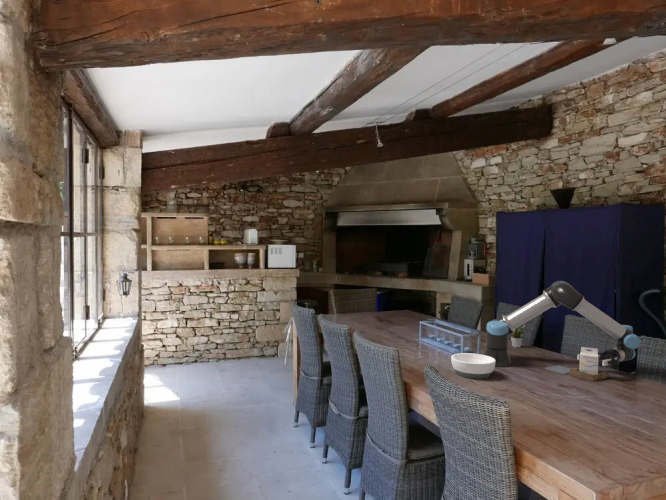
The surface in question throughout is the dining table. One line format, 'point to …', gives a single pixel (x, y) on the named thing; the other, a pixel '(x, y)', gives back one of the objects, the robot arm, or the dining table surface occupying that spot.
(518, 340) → the house plant
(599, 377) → the wooden tray
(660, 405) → the dining table surface
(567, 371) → the slate mat
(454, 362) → the bowl
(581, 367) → the ink box
